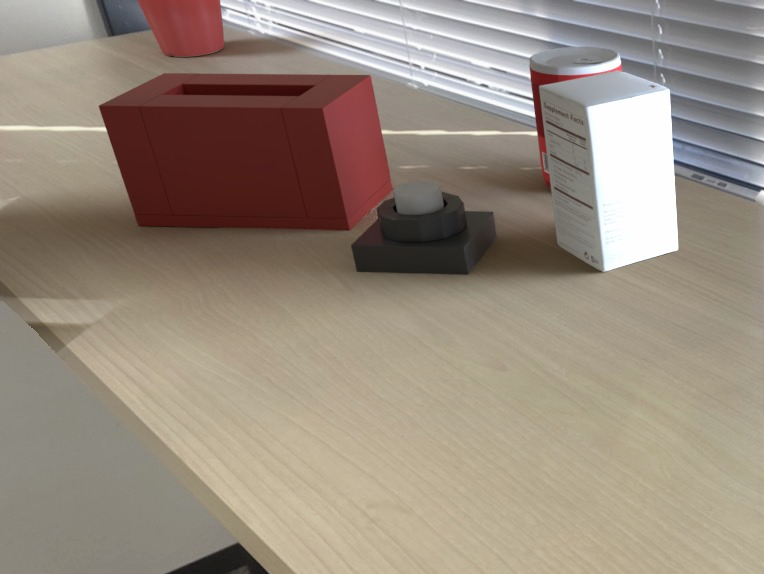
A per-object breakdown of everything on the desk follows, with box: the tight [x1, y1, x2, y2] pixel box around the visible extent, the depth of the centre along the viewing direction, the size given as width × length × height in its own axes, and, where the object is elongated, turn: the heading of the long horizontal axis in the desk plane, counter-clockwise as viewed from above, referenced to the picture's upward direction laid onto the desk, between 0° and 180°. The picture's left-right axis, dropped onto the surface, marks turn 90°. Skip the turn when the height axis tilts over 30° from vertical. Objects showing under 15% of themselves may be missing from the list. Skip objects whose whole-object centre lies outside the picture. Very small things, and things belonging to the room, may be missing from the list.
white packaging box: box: [539, 70, 679, 273], centre depth 89 cm, size 7×7×13 cm
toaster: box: [98, 72, 394, 231], centre depth 100 cm, size 19×10×10 cm, turn 84°
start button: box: [392, 180, 444, 215], centre depth 90 cm, size 4×4×2 cm
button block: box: [350, 191, 498, 276], centre depth 92 cm, size 9×8×4 cm
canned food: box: [528, 46, 623, 190], centre depth 103 cm, size 8×8×11 cm
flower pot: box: [137, 0, 225, 58], centre depth 150 cm, size 11×11×10 cm
